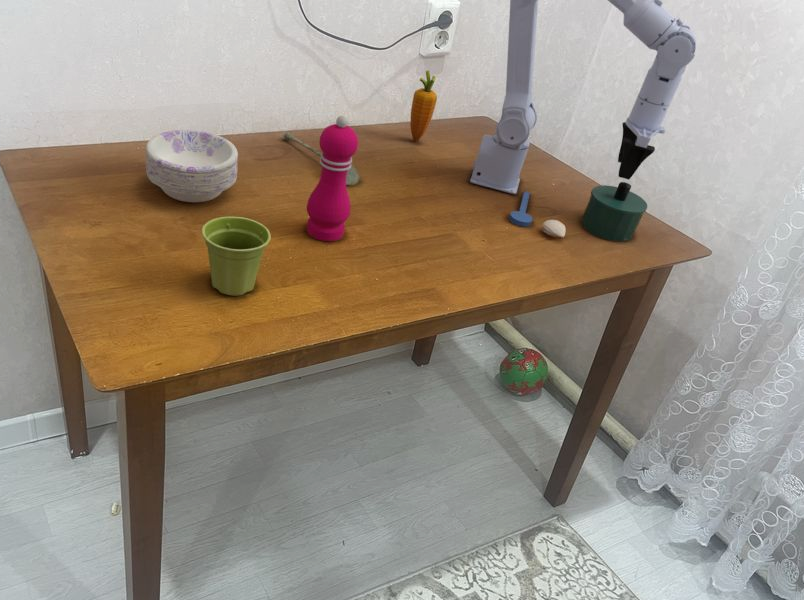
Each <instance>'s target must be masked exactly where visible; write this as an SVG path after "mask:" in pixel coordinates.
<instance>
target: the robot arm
mask: <svg viewBox="0 0 804 600" xmlns="http://www.w3.org/2000/svg"><path fill="white" fill-rule="evenodd" d="M607 1H608V2H609V3H610V4H612V5H613V6H614V7H615V8H617V10H619V12H621V13H622V14H623V20H622V21H623V27H625V28H626V29H627V30H628V31H629V32H630V33H631V34H632V35H634V36H635V37H636V38H637V39H638V40H639V41H640V42H642V44H643V45H644V46H646V47H647V48H648V49H649V50H653V51H656V55H655V58H654V59H653V62H652V65H651V66H650V68H649V69H648V70H647V73H646V75H645V77H644V79H643V82H642V85H641V86H640V87H641V88H640V90H639V91H638V92H639V93H638V95H637V97H636V99H635V101H634V104H633V107H632V108H631V111H630V114H629V116H628V117H627V118H626V120H625V121H624V122H622V124H621V125H622V136H621V137H622V138H621V143H620V149H619V152H618V156H617V162H618V163H620V165H619V169H618V175H617V176H618V178H622V179H626V180H631V178H632V177H633V176H634V174H635V173H636V171H637V170H638V169H639V167H640V166H641V165H642V164H643V162H645V160H646V159H647V158H648V157H650V156H652V154H653V153H654V152H655V151H656V147H655V146H653V145H650V140H651V139H653V137H655V136H656V135H657V134H663V135H665V133H666V131H667V130H666V127H665V126H662V123H663V121H664V118H665V116H666V114H667V113H668V109H669V108H670V105H671V103H672V101H673V99H674V97H675V94H676V93H677V90H678V88H679V86H680V83H681V81H682V76H683V74H684V73H685V71H686V68H687V66H688V65H689V64H690V63H691V62H692V61H693V59H694V58H695V52H696V47H697V46H696V37H695V33H694V32H693V31H692V30H691V28H690V26H689V25H686V24H684V20H682V19H681V18H676V17H674V16H673V15H672V14H671V13H670V12H668V10H667V9H665V8H664V7H663V6H662V5H663V4H664V1H663V0H607ZM538 6H539V0H509V19H508V20H509V21H508V23H509V24H508V37H507V38H508V41H507V63H506V81H505V82H506V83H505V95H504V100H503V103H502V110H501V116H500V119H499V121H498V123H497V125H496V128H495V129H496V130H495V133H494V135H490V134H484V135H483V137H482V139H481V144H480V146H479V149H478V152H477V156H476V159H475V160H474V162H473V165H472V173H471V176H470V180H469V182H470V183H471V184H475V185H478V186H481V187H485V188H488V189H493V190H496V191H500V192H503V193H508V194H510V195H517V193H518V188H519V184H520V181H521V178H520V176H521V173H522V169H523V167H524V163H525V161H526V157H527V154H528V151H529V149H530V145H531V141H530V139H529V136H530V134H531V131H532V129H533V128H534V127H535V126H536V124H537V120H538V114H537V111H536V108H535V106H534V92H533V81H534V67H535V51H536V39H537V38H536V36H537V22H538V8H539V7H538Z"/></svg>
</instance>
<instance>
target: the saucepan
mask: <svg viewBox="0 0 804 600" xmlns="http://www.w3.org/2000/svg"><path fill="white" fill-rule="evenodd" d="M643 215H644V213H641V214H626V213H621V212H617V211H614V210H611V209H609V208H607V207H604V206H603V205H601V204H599V203H598V202H597V201H595V200H594V199H593V197H592V195H591V194H590V197H589V200H588V202H587V205H586V207H585V209H584V212H583V214H582V217H581V225H582V227H583V228H584V229H585V230H586V231H587V232H589V233H590V234H591V235H594V236H596V237H597V238H598V237H599V238H601V239H604V240H608V241H612V242H626V241H627V242H628V241H630V240H631V239H632V237H633V236H634V235H635V232H636V230H637V229H638V226H639V223H640V221H641V219H642V217H643Z"/></svg>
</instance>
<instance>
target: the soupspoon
mask: <svg viewBox="0 0 804 600" xmlns="http://www.w3.org/2000/svg"><path fill="white" fill-rule="evenodd" d="M282 137H283V140H284V141H289V140H290V141H292V142H295V143H297V144H299V145H301V146H302V147H304V148H305V149H306V150H309V151H310V152H312V153H313V154H315V155H317V156H318V157H320V158H321V154H322V153H323V152H320V151H318V150H317V149H316V148H314V147H312V146H311V145H308V144H306V143H305V142H304V141H301V140H300V139H298V138H297V137H296V136H293V135H292V134H291V132H290V131H285V132H284V133H283V135H282ZM360 177H361V176H360V173H359V172H358V170H357V168H356V167H355V166H354V165H353V164H351V168H350V169H349V170H348V171H347V175H346V186H355V185H357V184H358V183H359V182H360Z"/></svg>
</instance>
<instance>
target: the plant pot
mask: <svg viewBox="0 0 804 600" xmlns="http://www.w3.org/2000/svg"><path fill="white" fill-rule="evenodd" d="M201 235H202V238H203V240H204V242H205V245H206V247H207V252H208V261H209V270H210V278H211V279H210V280H211V285H212V287H213V288H214V289H215V290H218V292H219V293H220V294H224V295H227V296H233V297H234V296H235V297H236V296H243V295H245V293H248V292H251V291H252V290H253V289H254V288H255V284H256V281H257V280H256V279H257V275H258V271H259V269H260V264H261V260H262V257H263V253H264V251H265V250H266V247H267V246H268V244H269V243H270V241H271V238H272V237H271V232H270V230H269V228H268V227H266V226H265V225H264V224H262V223H261V222H258V221H257V220H254V219H251V218H247V217H243V216H232V215H231V216H221V217H220V216H219V217H216V218H213V219H210V220H208V221H207V222H206V223H205V224H203V225H202V228H201Z"/></svg>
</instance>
